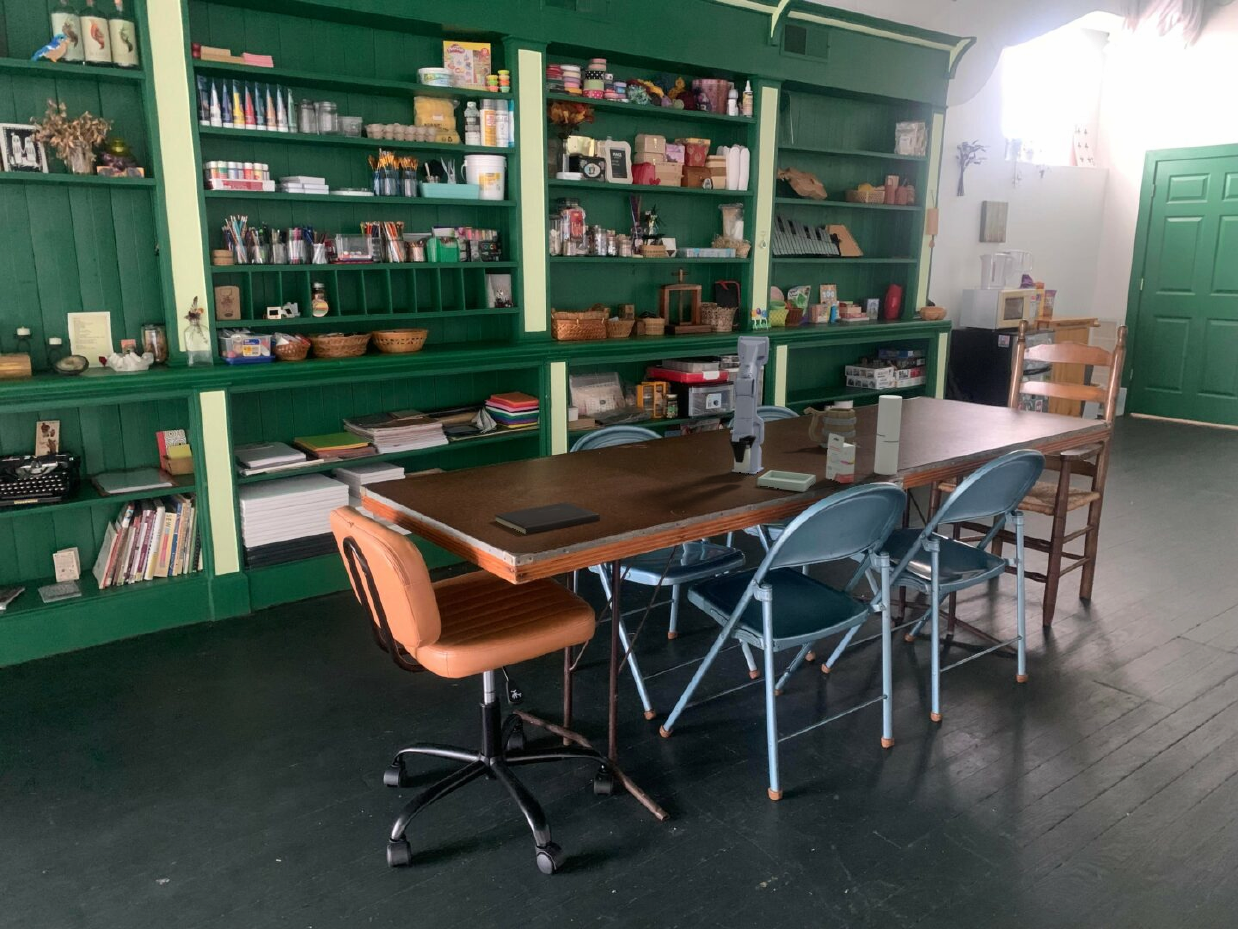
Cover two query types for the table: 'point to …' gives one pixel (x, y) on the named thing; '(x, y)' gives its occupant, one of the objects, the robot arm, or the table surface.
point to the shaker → (745, 464)
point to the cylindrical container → (888, 434)
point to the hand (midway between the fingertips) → (742, 460)
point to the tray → (787, 480)
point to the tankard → (833, 425)
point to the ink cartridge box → (840, 460)
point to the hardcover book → (547, 518)
